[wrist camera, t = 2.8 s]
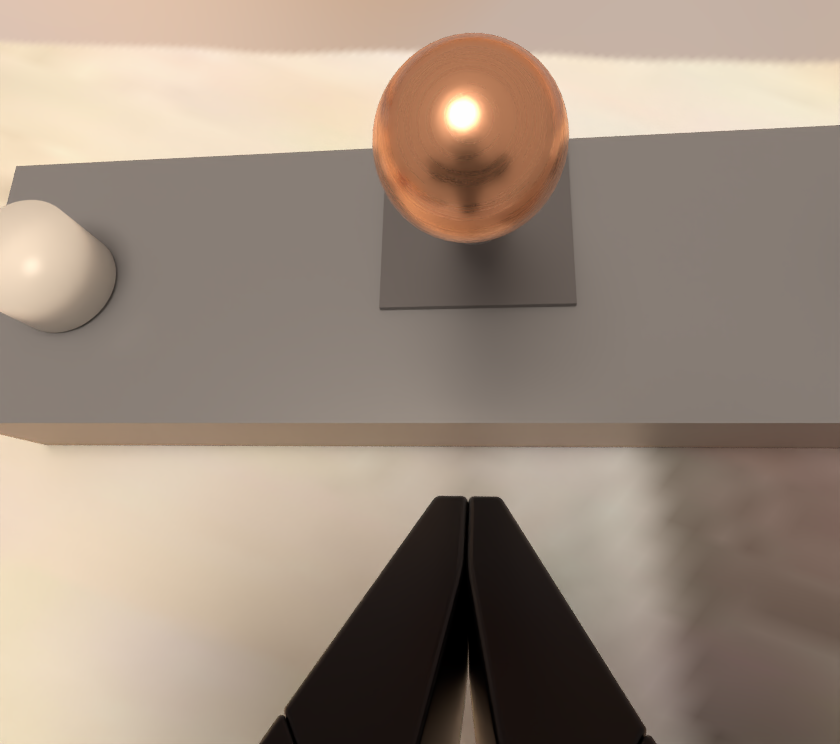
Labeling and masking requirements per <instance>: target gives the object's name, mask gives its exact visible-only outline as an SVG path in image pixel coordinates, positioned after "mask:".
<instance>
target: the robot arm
mask: <svg viewBox="0 0 840 744" xmlns="http://www.w3.org/2000/svg"><path fill="white" fill-rule="evenodd" d="M468 650H469V680H470V692H471V702H472V712H473V721H474V730H475V739H476V744H656V743H655V741H654V740H653V738H652V737H651V736H649V735H647V736H645V735H646V728H645V726H644V724H643V723H642V721H641V720H640V718H639V716H638V715H637V713H636V712H635V710H634V708H633V707H632V705H631V704H630V702H629V700H628V699H627V697H626V696H625V694H624V692H623V691H622V689H621V688H620V686H619V685H618V683H617V681H616V680H615V678H614V677H613V675H612V673H611V672H610V670H609V669H608V667H607V665H606V664H605V662H604V661H603V659H602V657H601V656H600V654H599V653H598V651H597V649H596V648H595V646H594V645H593V643H592V642H591V640H590V638H589V637H588V635H587V634H586V632H585V630H584V629H583V627H582V626H581V624H580V622H579V621H578V619H577V618H576V616H575V614H574V613H573V611H572V610H571V608H570V606H569V605H568V603H567V602H566V600H565V599H564V597H563V595H562V594H561V592H560V591H559V589H558V587H557V586H556V584H555V583H554V581H553V579H552V578H551V576H550V575H549V573H548V571H547V570H546V568H545V567H544V565H543V564H542V562H541V560H540V559H539V557H538V556H537V554H536V552H535V551H534V549H533V548H532V546H531V544H530V543H529V541H528V540H527V538H526V536H525V535H524V533H523V532H522V530H521V528H520V527H519V525H518V524H517V522H516V521H515V519H514V517H513V516H512V514H511V513H510V511H509V509H508V508H507V506H506V505H505V503H504V502H503V500H502V499H501V498H499V497H477V496H474V497H471V498H470V499H469V501H468V500H467V499H466V498H465V497H463V496H438V497H436V498H434V500H433V501H432V502H431V504H430V505H429V506H428V508H427V509H426V511H425V512H424V513H423V515H422V516H421V518H420V519H419V520H418V522H417V523H416V525H415V526H414V527H413V529H412V530H411V532H410V533H409V534H408V536H407V537H406V539H405V540H404V541H403V543H402V544H401V546H400V547H399V548H398V550H397V551H396V553H395V554H394V555H393V557H392V558H391V560H390V561H389V562H388V564H387V565H386V567H385V568H384V570H383V571H382V572H381V574H380V575H379V577H378V578H377V579H376V581H375V582H374V584H373V585H372V586H371V588H370V589H369V591H368V592H367V593H366V595H365V596H364V598H363V599H362V600H361V602H360V603H359V605H358V606H357V607H356V609H355V610H354V612H353V613H352V614H351V616H350V617H349V619H348V620H347V621H346V623H345V624H344V626H343V627H342V628H341V630H340V631H339V633H338V634H337V635H336V637H335V638H334V640H333V641H332V642H331V644H330V645H329V647H328V648H327V649H326V651H325V652H324V654H323V655H322V656H321V658H320V659H319V661H318V662H317V663H316V665H315V666H314V668H313V669H312V671H311V672H310V673H309V675H308V676H307V678H306V679H305V680H304V682H303V683H302V685H301V686H300V687H299V689H298V690H297V692H296V693H295V694H294V696H293V697H292V699H291V700H290V701H289V703H288V704H287V706H286V707H285V709H284V714H285V716H283V715H280V716H279V717H278V718H277V719H276V720H275V722H274V723H273V725H272V726H271V727H270V729H269V730H268V732H267V733H266V735H265V736H264V737H263V739H262V740H261V742H260V743H259V744H460V736H461V729H462V721H463V713H464V705H465V697H466V687H467V677H468Z"/></svg>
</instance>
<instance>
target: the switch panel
mask: <svg viewBox="0 0 840 744" xmlns="http://www.w3.org/2000/svg"><path fill="white" fill-rule="evenodd" d="M23 200H39V201H44V202H48V203H50V204H52V205H54V206H56V207H57V208H59V209H60V210H61V211H63V212H64V213H65V214H66V215H68V216H69V217H70V218H71V219H73V220H74V221H75V222H76V223H78V224H79V225H80V226H81V227H83V228H84V229H85V230H86V231H88V232H89V233H90V234H92V235H93V236H94V237H95V238H97V239H98V240H99V241H100V242H102V243H103V244H104V245H105V246H106V247H107V248H108V250H109V251H110V252H111V254H112V256H113V259H114V262H115V266H116V279H115V284H114V288H113V291H112V293H111V296H110V297H109V299H108V301H107V303H106V304H105V305H104V307H103V308H102V309H101V310H100V312H99V313H98V314H96V315H95V316H94V317H93V318H92V319H91V320H89V321H88V322H86V323H85V324H83V325H81V326H79V327H77V328H75V329H72V330H69V331H65V332H58V333H48V332H43V331H40V330H37V329H35V328H32V327H30V326H28V325H26V324H24V323H22V322H20V321H18V320H16V319H14V318H12V317H10V316H8V315H6V314H4V313H2V312H0V434H1V435H5V436H10V437H14V438H18V439H22V440H27V441H31V442H35V443H40V444H44V445H226V446H474V447H721V448H840V125H835V126H815V127H795V128H775V129H755V130H735V131H715V132H695V133H675V134H655V135H635V136H615V137H595V138H574V139H569V143H568V152H567V157H566V162H565V166H564V169H563V171H562V174H561V177H560V180H559V182H558V184H557V186H556V188H555V190H554V192H553V193H552V195H551V197H550V198H549V200H548V201H547V203H546V204H545V205H544V206H543V207H542V208H541V210H540V211H539V212H538V213H537V214H536V215H535V216H534V217H533V218H532V219H530V220H529V221H528V222H527V223H525V224H524V225H522V226H521V227H520V228H518V229H516V230H515V231H513V232H511V233H509V234H507V235H504V236H502V237H499V238H496V239H493V240H491V241H489V242H487V243H485V244H481V245H468V244H464V243H457V242H451V241H446V240H442V239H439V238H436V237H433V236H431V235H429V234H427V233H425V232H423V231H421V230H420V229H418V228H416V227H415V226H413V225H412V224H411V223H410V222H409V221H407V220H406V219H405V218H404V217H403V216H402V215H401V214H400V213H399V212H398V211H397V209H396V208H395V207H394V206H393V204H392V203H391V201H390V200H389V198H388V197H387V195H386V193H385V191H384V189H383V187H382V185H381V183H380V180H379V177H378V175H377V172H376V167H375V163H374V157H373V149H354V150H334V151H314V152H293V153H273V154H253V155H233V156H213V157H193V158H173V159H153V160H133V161H113V162H93V163H73V164H53V165H33V166H16V170H15V174H14V178H13V182H12V186H11V190H10V194H9V198H8V202H7V205H8V204H11V203H14V202H18V201H23Z"/></svg>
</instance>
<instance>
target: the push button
mask: <svg viewBox="0 0 840 744" xmlns="http://www.w3.org/2000/svg"><path fill="white" fill-rule="evenodd" d="M115 279H116V266H115V262H114V259H113V256H112V254H111V252H110V251H109V250H108V248H107V247H106V246H105V245H104V244H103V243H102V242H100V241H99V240H98V239H97V238H95V237H94V236H93V235H92V234H90V233H89V232H88V231H86V230H85V229H84V228H83V227H81V226H80V225H79V224H78V223H76V222H75V221H74V220H73V219H71V218H70V217H69V216H68V215H66V214H65V213H64V212H63V211H61V210H60V209H59V208H57V207H56V206H54V205H52V204H50V203H48V202H44V201H39V200H23V201H18V202H14V203H11V204H8V205H6V206H4V207H1V208H0V312H2V313H4V314H6V315H8V316H10V317H12V318H14V319H16V320H18V321H20V322H22V323H24V324H26V325H28V326H30V327H32V328H35V329H37V330H40V331H43V332H48V333H58V332H65V331H69V330H72V329H75V328H77V327H79V326H81V325H83V324H85V323H86V322H88V321H89V320H91V319H92V318H93V317H94V316H95V315H96V314H98V313H99V312H100V310H101V309H102V308H103V307H104V305H105V304H106V303H107V301H108V299H109V297H110V296H111V293H112V291H113V288H114V284H115Z"/></svg>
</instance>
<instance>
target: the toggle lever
mask: <svg viewBox="0 0 840 744" xmlns="http://www.w3.org/2000/svg"><path fill="white" fill-rule="evenodd" d="M568 143H569V127H568V118H567V113H566V108H565V105H564V101H563V98H562V95H561V93H560V91H559V88H558V86H557V84H556V82H555V80H554V79H553V77H552V76H551V74H550V73H549V71H548V70H547V69H546V68H545V67H544V65H543V64H542V63H541V62H540V61H539V60H538V59H537V58H536V57H535V56H533V55H532V54H531V53H530V52H529V51H527V50H526V49H524V48H522V47H521V46H519V45H518V44H516V43H514V42H512V41H509V40H507V39H505V38H502V37H498V36H495V35H490V34H482V33H465V34H457V35H453V36H449V37H445V38H442V39H440V40H437V41H435V42H433V43H430V44H429V45H427V46H425V47H424V48H422V49H420V50H419V51H418V52H416V53H415V54H414V55H413V56H411V57H410V58H409V59H408V60H407V61H406V62H405V63H404V64H403V65H402V66H401V67H400V68H399V69H398V71H397V72H396V73H395V75H394V76H393V77H392V79H391V80H390V82H389V83H388V85H387V87H386V89H385V90H384V92H383V95H382V97H381V99H380V102H379V104H378V108H377V111H376V115H375V120H374V127H373V145H372V147H373V157H374V163H375V167H376V172H377V175H378V177H379V180H380V183H381V185H382V187H383V189H384V191H385V193H386V195H387V197H388V198H389V200H390V201H391V203H392V204H393V206H394V207H395V208H396V209H397V211H398V212H399V213H400V214H401V215H402V216H403V217H404V218H405V219H406V220H407V221H409V222H410V223H411V224H412V225H413V226H415V227H416V228H418V229H420V230H421V231H423V232H425V233H427V234H429V235H431V236H433V237H436V238H439V239H442V240H446V241H451V242H457V243H464V244H468V245H481V244H485V243H487V242H489V241H491V240H493V239H496V238H499V237H502V236H504V235H507V234H509V233H511V232H513V231H515V230H516V229H518V228H520V227H521V226H522V225H524V224H525V223H527V222H528V221H529V220H530V219H532V218H533V217H534V216H535V215H536V214H537V213H538V212H539V211H540V210H541V208H542V207H543V206H544V205H545V204H546V203H547V201H548V200H549V198H550V197H551V195H552V193H553V192H554V190H555V188H556V186H557V184H558V182H559V180H560V177H561V174H562V171H563V169H564V166H565V162H566V157H567V152H568Z"/></svg>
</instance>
